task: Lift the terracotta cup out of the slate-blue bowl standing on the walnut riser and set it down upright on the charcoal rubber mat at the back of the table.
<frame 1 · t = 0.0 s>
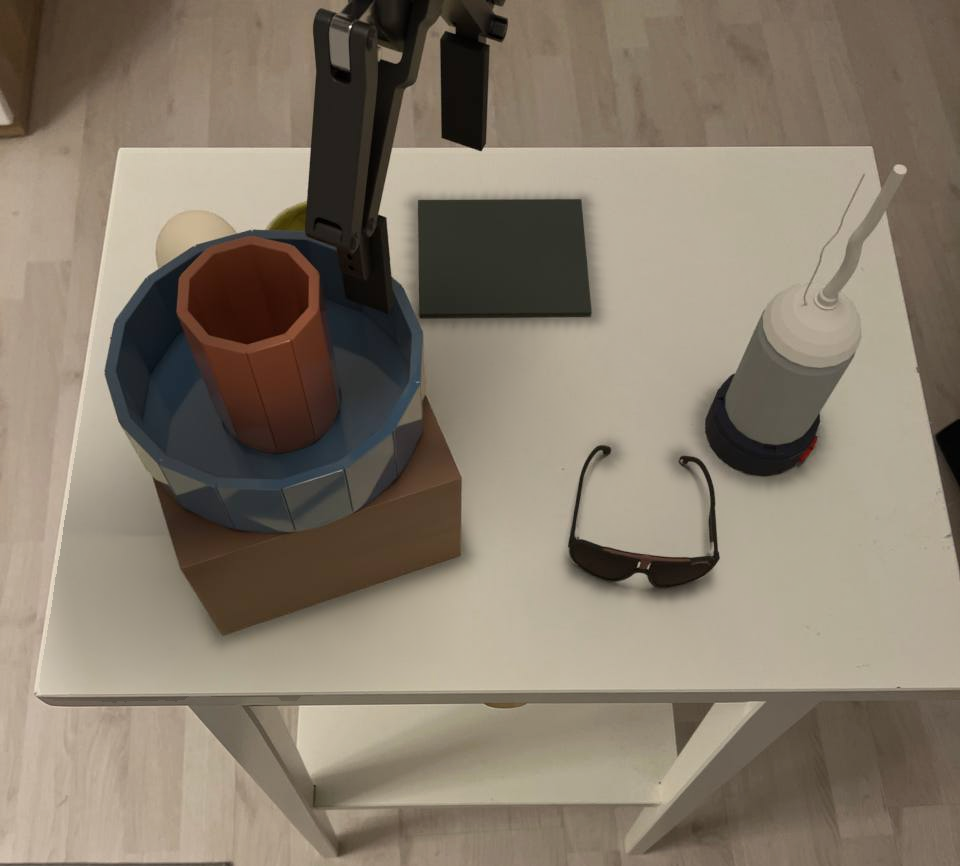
hand: (418, 218, 57), 19 cm above the table, tool pointing down, fingers open, 13 cm apart
mat: (502, 258, 80), on the table
riser: (306, 491, 71), on the table
bowl: (281, 405, 61), resting on riser
mug: (315, 319, 77), on the table
cup: (280, 401, 61), point 11 cm above the table, touching bowl
sunglasses: (638, 522, 71), on the table
humidifier: (756, 432, 74), on the table
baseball: (211, 287, 78), on the table
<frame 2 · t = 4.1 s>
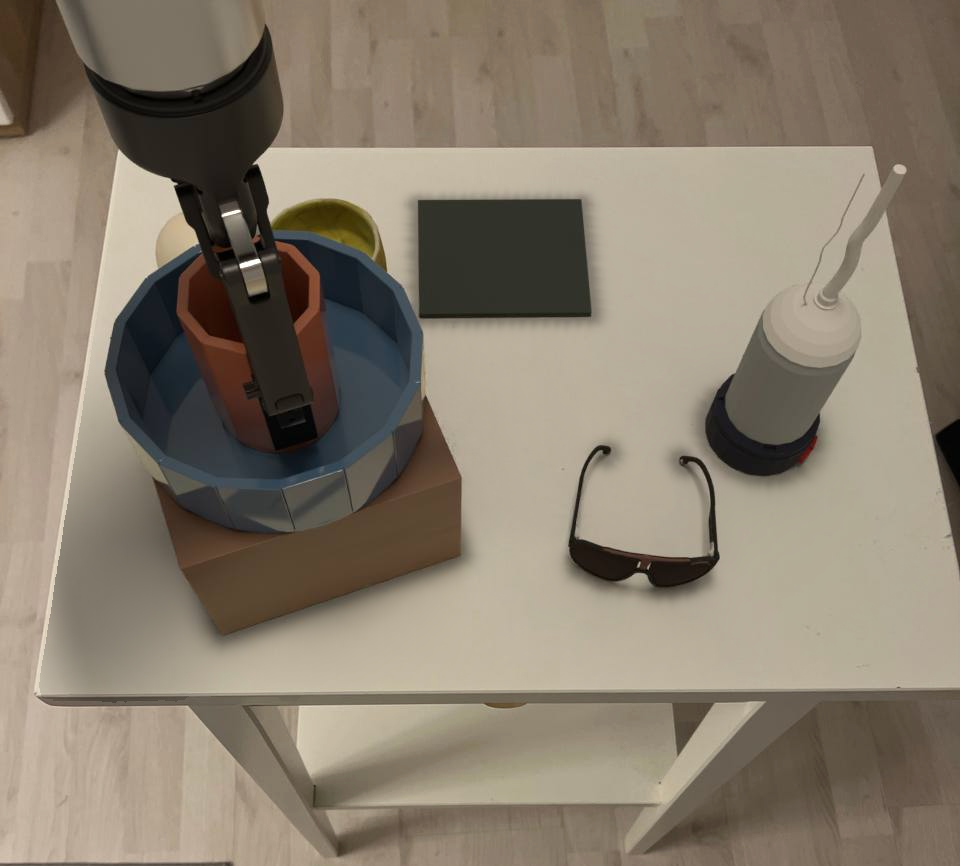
hand: (275, 385, 59), 13 cm above the table, tool pointing down, fingers closed on cup, 8 cm apart
cup: (280, 401, 61), point 11 cm above the table, touching bowl, gripper
everything else where it was.
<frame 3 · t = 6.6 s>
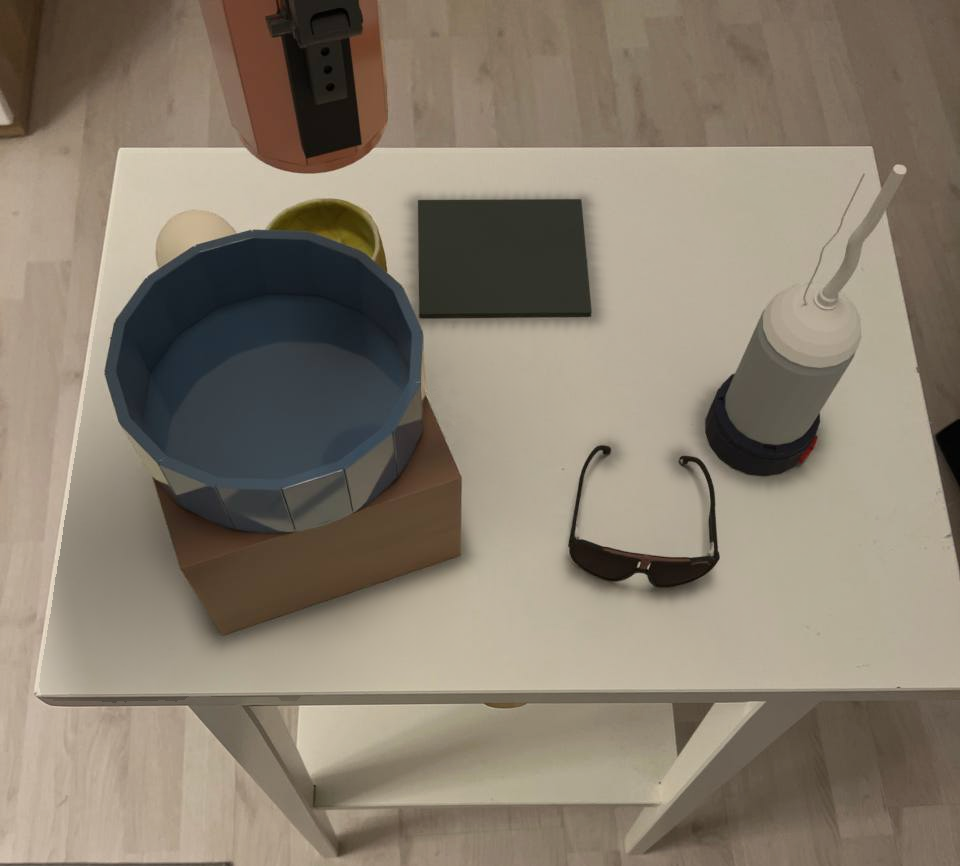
hand: (306, 84, 46), 30 cm above the table, tool pointing down, fingers closed on cup, 8 cm apart
cup: (311, 116, 47), point 28 cm above the table, touching gripper
everything else where it was.
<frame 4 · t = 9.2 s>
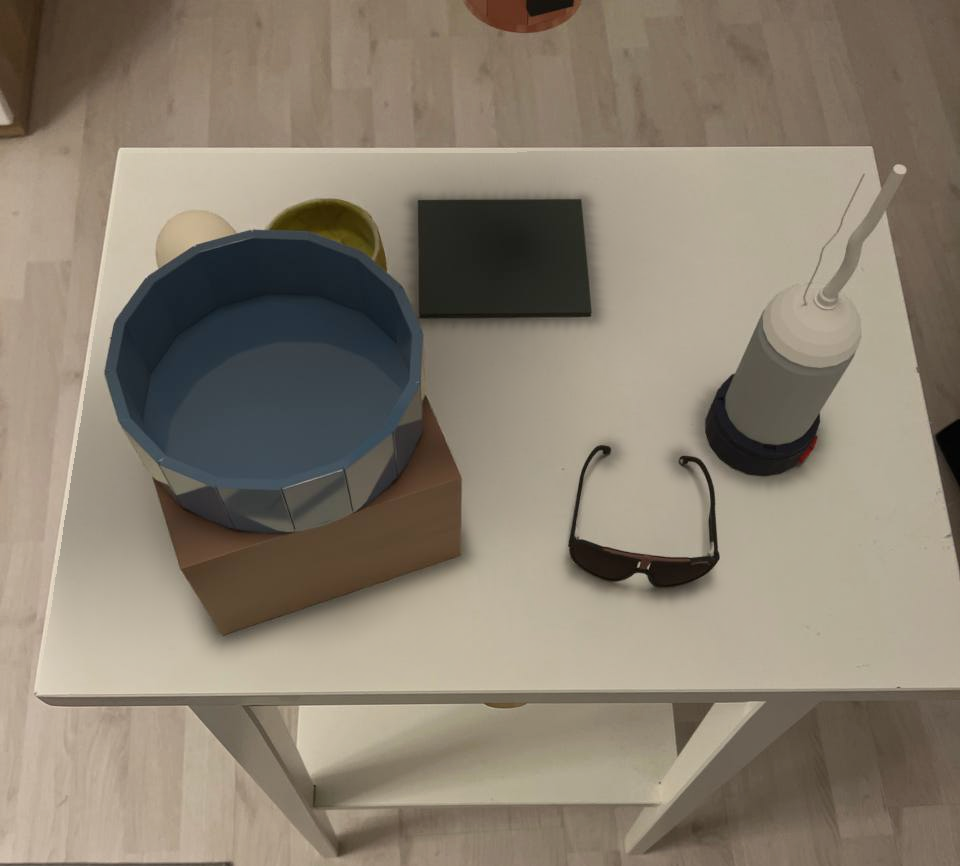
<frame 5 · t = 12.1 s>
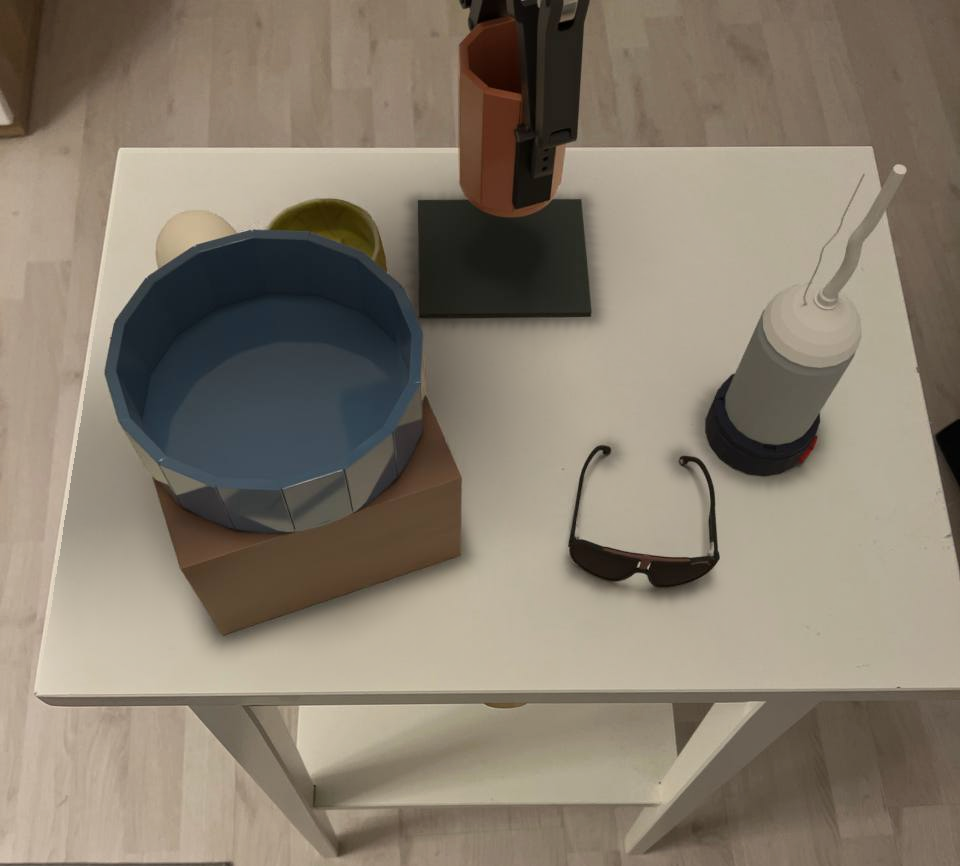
hand: (509, 160, 70), 10 cm above the table, tool pointing down, fingers closed on cup, 8 cm apart
cup: (509, 179, 72), point 8 cm above the table, touching gripper
everything else where it was.
when the fingers open (2 cm above the table, at t = 14.3 s): cup stays where it is, resting on mat.
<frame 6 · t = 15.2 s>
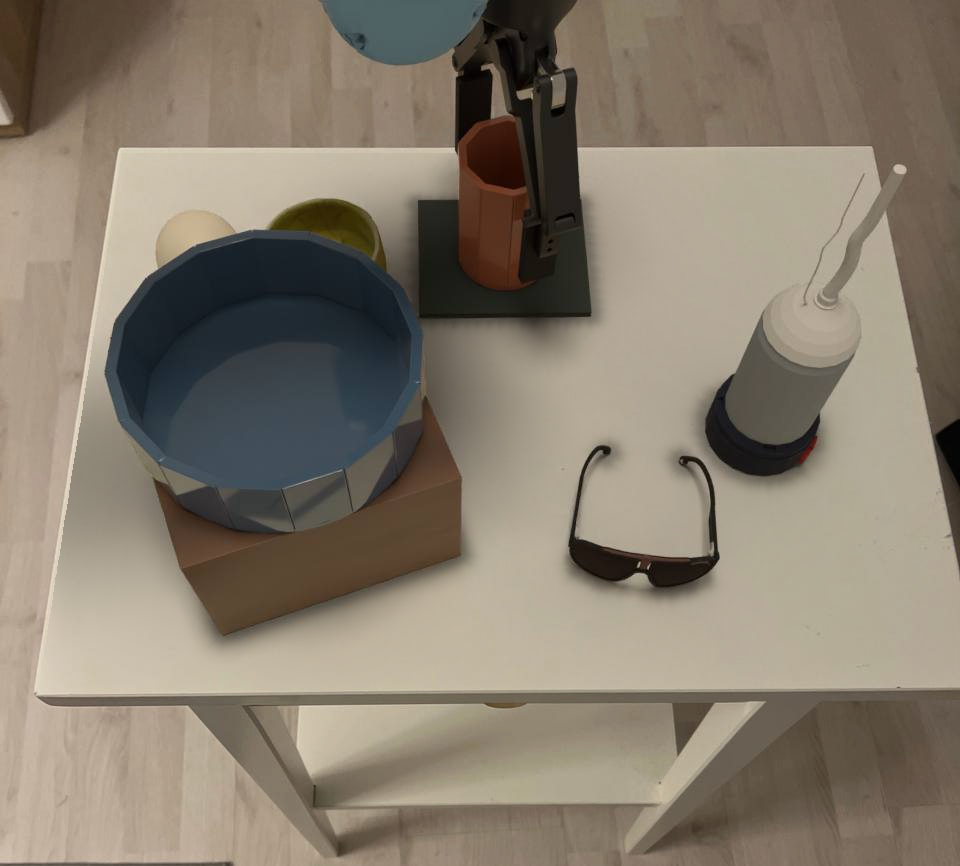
hand: (503, 211, 75), 5 cm above the table, tool pointing down, fingers open, 13 cm apart
cup: (503, 254, 79), resting on mat
everything else where it was.
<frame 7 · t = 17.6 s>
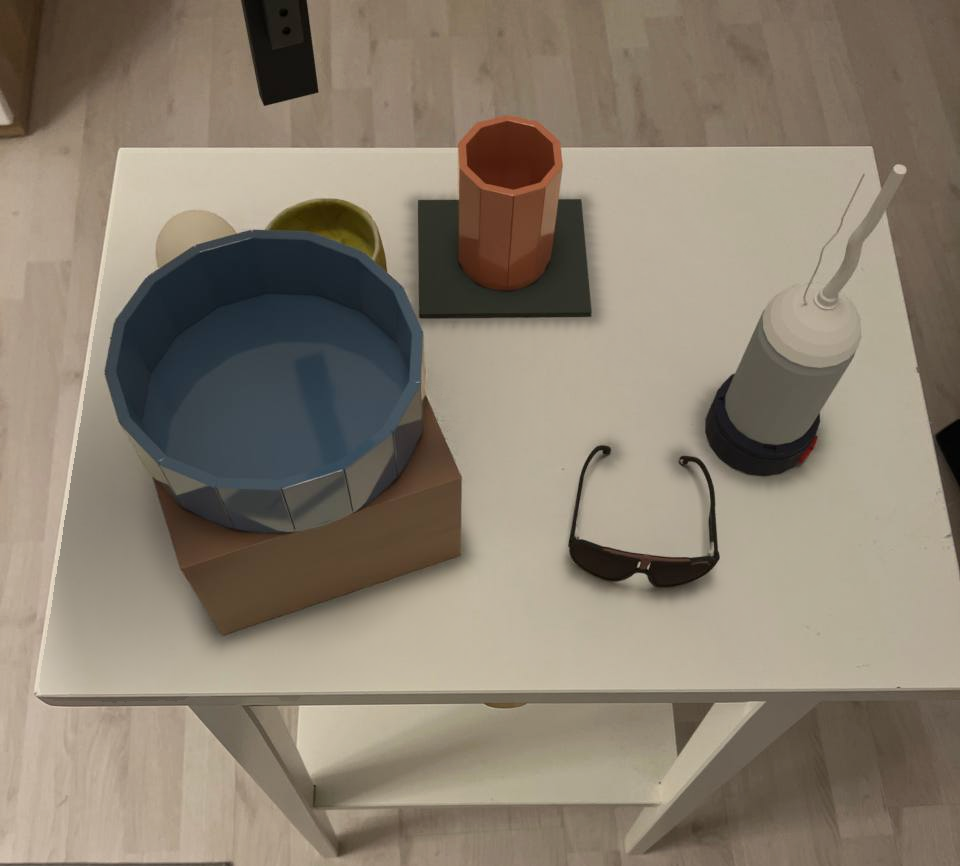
hand: (247, 0, 48), 30 cm above the table, tool pointing down, fingers open, 13 cm apart
nothing on the table moved.
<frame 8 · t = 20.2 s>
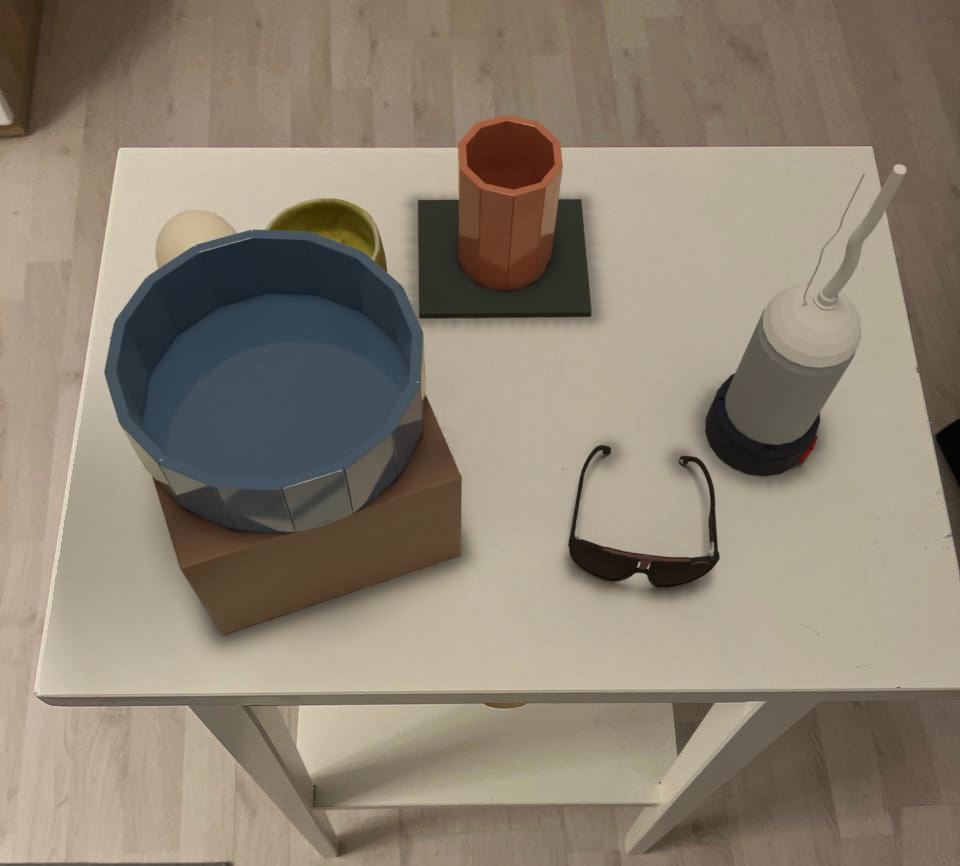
nothing on the table moved.
at the end: cup inside the target area on the mat (0.1 cm from its centre), point 0.5 cm above the mat's base; cup touching mat; cup tilted 0° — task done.
